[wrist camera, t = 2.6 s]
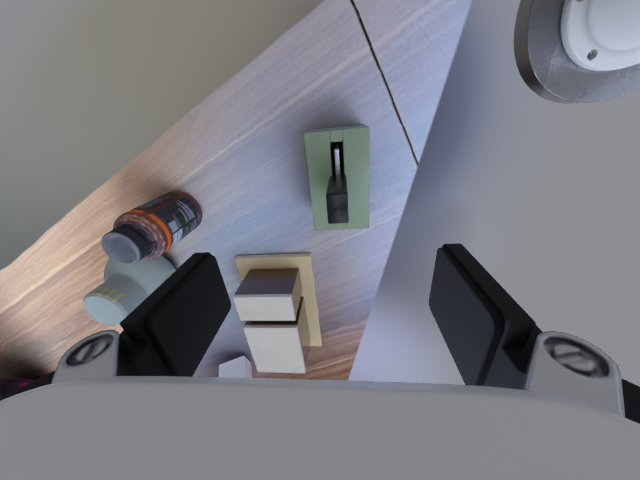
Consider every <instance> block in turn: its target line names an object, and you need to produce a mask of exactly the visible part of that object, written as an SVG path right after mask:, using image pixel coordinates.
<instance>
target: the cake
mask: <svg viewBox="0 0 640 480" xmlns="http://www.w3.org/2000/svg"><path fill="white" fill-rule="evenodd" d="M235 262H236V265H237V269H238V272H239V275H240V278H241V282H242V283H241V284H240V286H239V288H238V289H237V291H236V293H235V294H234V296H233V297H232V298H233V301H234V304H235V307H236V310H237V313H238V315H239V318H240V321H246V322H245V325H244V326H243V330H244V333H245V336H246V339H247V342H248V344H249V347H250V350H251V353H252V356H253V359H254V362H255V365H256V368H257V371H258V372H276V373H306V366H307V359H308V352H309V346H322V334H321V326H320V318H319V311H318V303H317V295H316V287H315V279H314V272H313V264H312V256H311V253H297V254H269V255H241V256H236V258H235Z"/></svg>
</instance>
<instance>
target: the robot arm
mask: <svg viewBox="0 0 640 480" xmlns="http://www.w3.org/2000/svg"><path fill="white" fill-rule="evenodd" d="M561 38H562V42H563V47H564V49H565V51H566V53H567V55H568V56H569V58H570V59H571V60H572V61H573V62H574V63H575V64H577V65H579V66H580V67H582V68H584V69H588V70H592V71H610V70H616V69H622V68H626V67H629V66H632V65H636V64H638V63H640V0H565V2H564V5H563V10H562V16H561ZM429 306H430V309H431V312H432V314H433V316H434V318H435V320H436V322H437V324H438V327H439V329H440V331H441V333H442V335H443V337H444V340H445V342H446V344H447V346H448V348H449V350H450V353H451V355H452V357H453V359H454V361H455V363H456V365H457V368H458V370H459V372H460V374H461V376H462V378H463V381H464V383H465V385H451V384H431V383H404V382H372V381H342V380H306V379H269V378H228V377H192V375H193V374H194V372H195V370H196V368H197V367H198V365H199V363H200V361H201V360H202V358H203V356H204V355H205V353H206V351H207V349H208V348H209V346H210V344H211V342H212V341H213V339H214V337H215V335H216V334H217V332H218V330H219V328H220V327H221V325H222V323H223V321H224V320H225V318H226V316H227V314H228V313H229V311H230V308H231V302H230V299H229V296H228V293H227V290H226V287H225V284H224V281H223V278H222V275H221V272H220V269H219V266H218V264H217V261H216V258H215V257H214V256H212V255H211V254H210V253H209V252H207V253H195V254H193V255H192V256H191V257H190V258H189V259H188V260H187V261H186V262H185V263H183V264H182V265H181V266H180V267H179V268H178V269H177V270H176V271H175V272H174V273H173V274H172V275H171V276H170V277H168V278H167V279H166V280H165V281H164V282H163V283H162V284H161V285H160V286H159V287H158V288H157V289H156V290H154V291H153V292H152V293H151V294H150V295H149V296H148V297H147V298H146V299H145V300H144V301H143V302H142V303H141V304H139V305H138V306H137V307H136V308H135V309H134V310H133V311H132V312H131V313H130V314H129V315H128V316H127V317H126V318H124V319H123V320H122V321H121V322H120V325H121V326H122V328H123V329H124V331H123V332H122V333H121V334H119V333H118V332H117V331H115V330H105V331H100V332H97V333H94V334H92V335H90V336H88V337H86V338H84V339H82V340H81V341H79V342H78V343H76V344H75V345H73V346H72V347H71V348H70V349H68V350H67V351H66V353H65V354H64V355H63V356H62V357H61V359H60V361H59V362H58V365H57V368H56V371H53V372H51V373H49V374H47V375H45V376H43V377H41V378H39V379H37V380H35V381H33V382H31V383H29V384H26V385H24V386H22V387H20V388H18V389H16V390H14V391H12V392H10V393H8V394H6V395H4V396H1V397H0V480H640V387H639V386H637V385H634V384H632V383H630V382H628V381H626V380H624V379H621V373H620V370H619V368H618V366H617V364H616V363H615V362H614V361H613V360H612V359H611V357H610V356H608V355H607V354H606V353H604V352H603V351H602V350H601V349H599V348H597V347H596V346H595V345H593V344H591V343H589V342H588V341H585V340H583V339H581V338H579V337H577V336H574V335H570V334H567V333H563V332H556V331H548V332H542V331H541V330H540V329H539V328H538V327H537V326H536V325H535V322H534V321H533V319H532V318H531V317H530V316H528V314H527V313H526V312H525V311H524V310H523V309H522V308H521V307H520V306H519V305H518V304H517V303H516V301H515V300H514V299H513V298H512V297H511V296H510V295H509V294H508V293H507V292H506V291H505V290H504V289H503V288H502V287H501V286H500V284H499V283H498V282H496V280H495V279H494V278H493V277H492V276H491V275H490V274H489V273H488V272H487V271H486V270H485V269H484V268H483V266H482V265H481V264H480V263H479V262H478V261H477V260H476V259H475V258H474V257H473V256H472V255H471V254H470V253H469V252H468V251H467V249H466V248H465V247H464V246H463V245H462V244H444V245H443V246H442V248H438V250H437V255H436V261H435V268H434V273H433V280H432V285H431V292H430V297H429Z"/></svg>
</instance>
